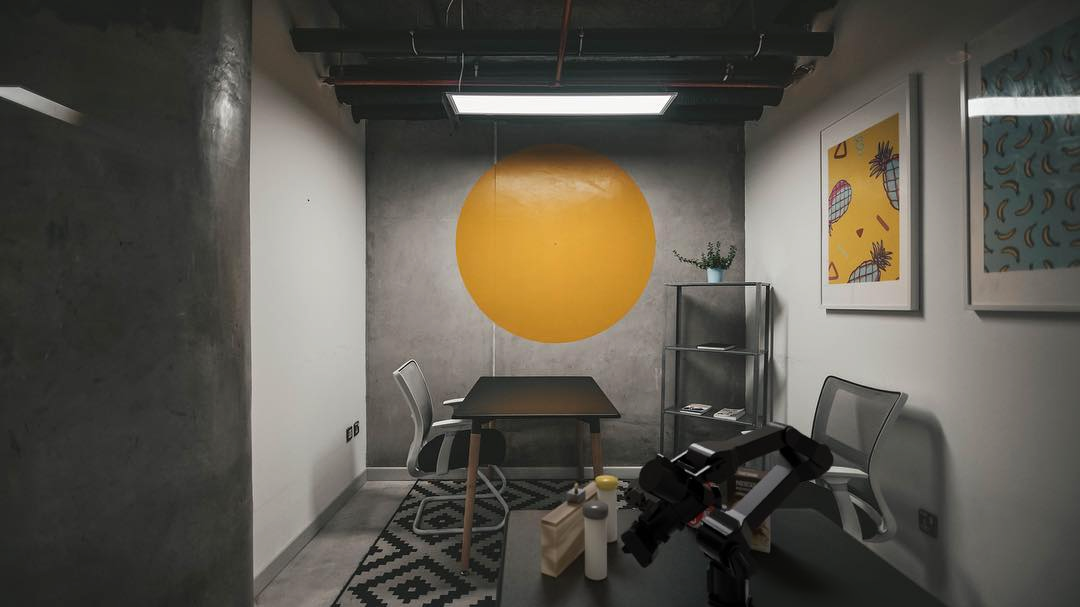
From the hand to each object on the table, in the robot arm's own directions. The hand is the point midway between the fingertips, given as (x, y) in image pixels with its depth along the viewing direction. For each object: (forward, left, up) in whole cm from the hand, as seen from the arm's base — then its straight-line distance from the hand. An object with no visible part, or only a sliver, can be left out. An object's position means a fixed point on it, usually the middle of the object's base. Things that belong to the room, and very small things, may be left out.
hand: (623, 550), depth 88 cm
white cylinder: (+10, -15, -7) cm, 19 cm away
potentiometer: (+14, -7, +4) cm, 17 cm away
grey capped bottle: (+6, 0, -7) cm, 9 cm away
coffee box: (-18, -31, -7) cm, 36 cm away
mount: (+14, -7, -7) cm, 17 cm away
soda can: (-6, -34, -7) cm, 35 cm away
